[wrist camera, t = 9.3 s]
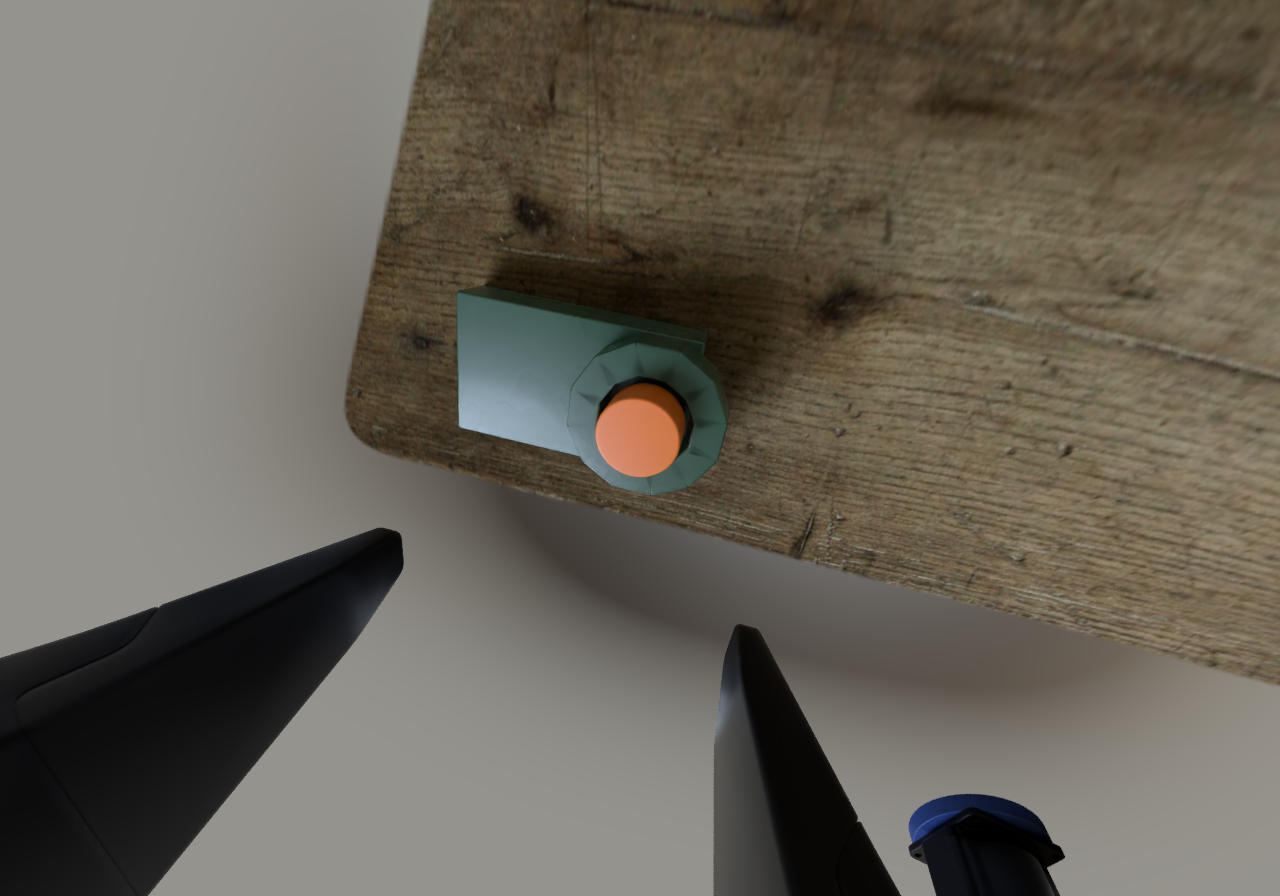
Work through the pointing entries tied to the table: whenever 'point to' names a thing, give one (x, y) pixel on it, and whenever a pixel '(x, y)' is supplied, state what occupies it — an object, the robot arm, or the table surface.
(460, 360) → the button housing
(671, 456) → the button
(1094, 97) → the table surface
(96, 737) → the robot arm
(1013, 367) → the table surface
